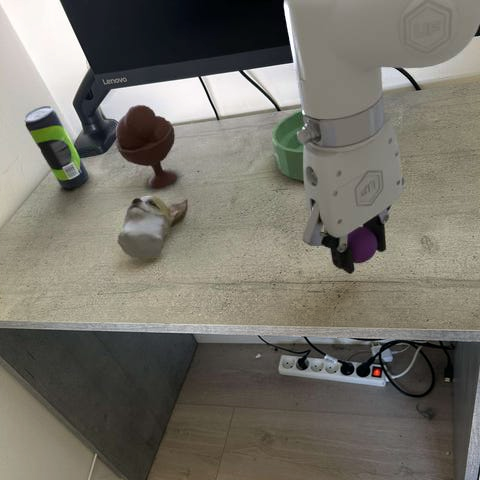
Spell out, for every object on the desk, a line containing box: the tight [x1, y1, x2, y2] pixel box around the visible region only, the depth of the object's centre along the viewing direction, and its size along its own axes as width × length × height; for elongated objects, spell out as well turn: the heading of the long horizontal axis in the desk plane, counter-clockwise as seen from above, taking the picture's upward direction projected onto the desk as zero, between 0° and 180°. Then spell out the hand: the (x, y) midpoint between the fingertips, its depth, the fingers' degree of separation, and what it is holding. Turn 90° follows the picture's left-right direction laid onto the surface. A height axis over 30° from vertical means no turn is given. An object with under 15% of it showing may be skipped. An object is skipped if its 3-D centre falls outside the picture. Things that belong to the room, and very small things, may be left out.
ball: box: [347, 226, 377, 264], centre depth 59 cm, size 4×4×4 cm
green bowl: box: [271, 109, 304, 182], centre depth 84 cm, size 15×15×6 cm
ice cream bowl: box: [114, 104, 177, 190], centre depth 89 cm, size 11×11×15 cm
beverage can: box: [23, 105, 89, 189], centre depth 97 cm, size 6×6×15 cm
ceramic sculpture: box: [117, 195, 189, 262], centre depth 79 cm, size 11×9×15 cm
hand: (359, 256), depth 60 cm, fingers closed on ball, 4 cm apart
